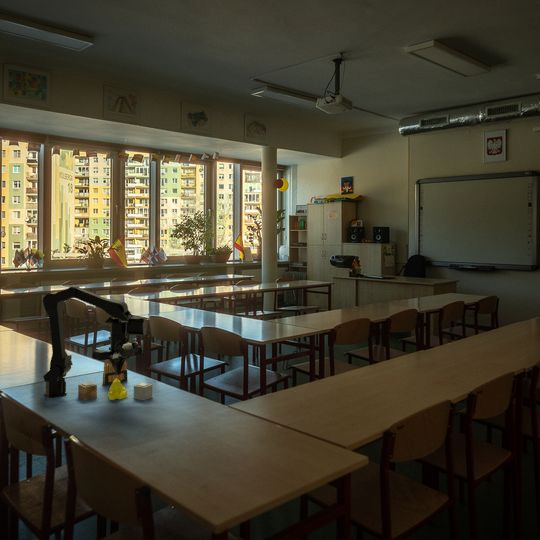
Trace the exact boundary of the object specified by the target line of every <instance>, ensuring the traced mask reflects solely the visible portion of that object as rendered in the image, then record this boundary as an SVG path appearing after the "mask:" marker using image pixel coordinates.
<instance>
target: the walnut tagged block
mask: <svg viewBox="0 0 540 540" xmlns="http://www.w3.org/2000/svg"><path fill="white" fill-rule="evenodd" d="M77 389H78V390H77V391H78V393H77V398H79V399H80V400H84V401H88V400H92V399H97V398H98V385H97V384H95V383H93V382H85V383H79V384H78V386H77Z"/></svg>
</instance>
